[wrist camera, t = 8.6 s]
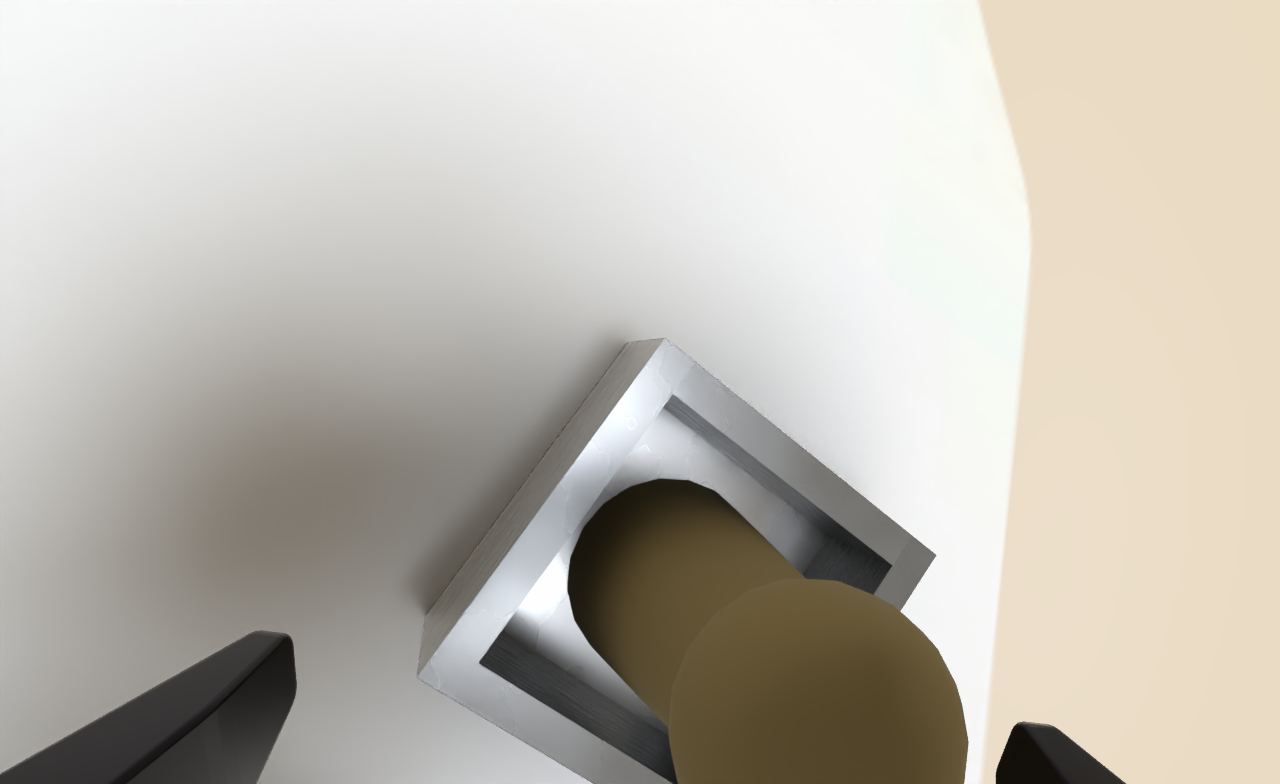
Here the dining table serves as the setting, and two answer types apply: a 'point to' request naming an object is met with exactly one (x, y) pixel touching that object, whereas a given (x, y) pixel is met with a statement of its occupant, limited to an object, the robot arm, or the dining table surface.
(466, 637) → the square metal tray
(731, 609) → the cork
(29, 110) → the dining table surface
